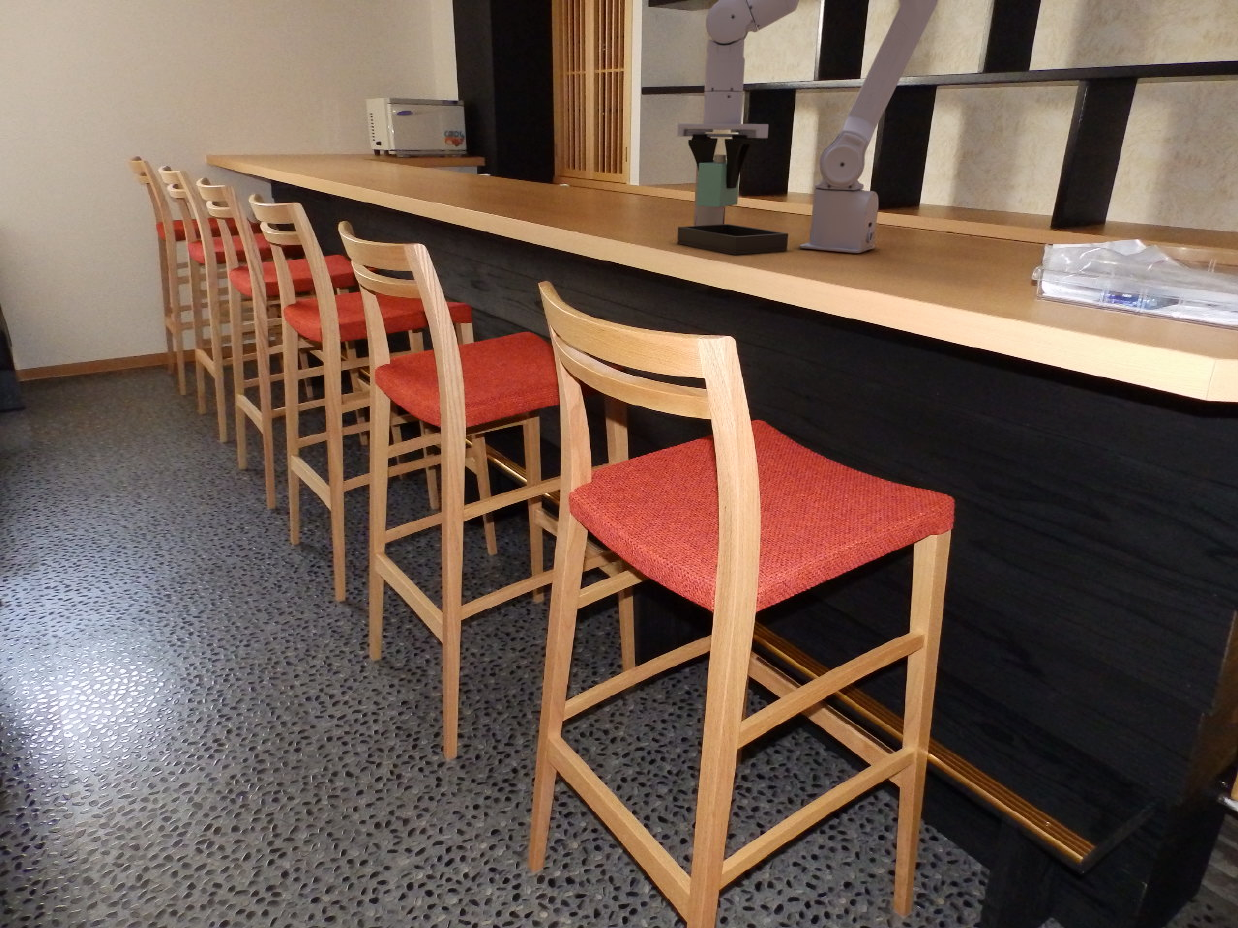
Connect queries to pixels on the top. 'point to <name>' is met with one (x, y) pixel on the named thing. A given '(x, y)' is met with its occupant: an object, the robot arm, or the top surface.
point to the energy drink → (707, 211)
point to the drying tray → (732, 239)
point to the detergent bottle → (715, 184)
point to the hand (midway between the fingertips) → (718, 187)
